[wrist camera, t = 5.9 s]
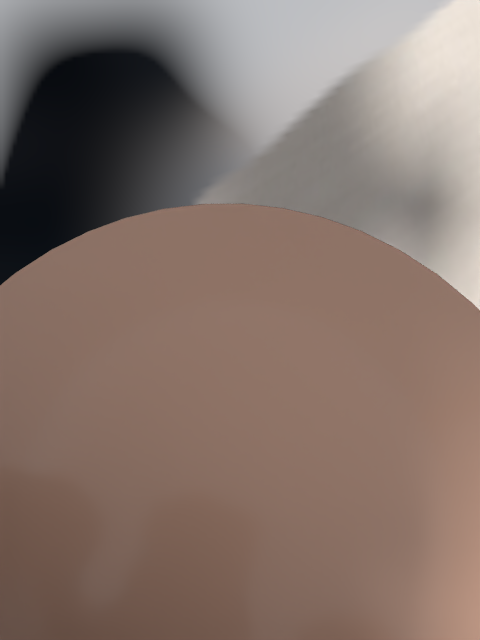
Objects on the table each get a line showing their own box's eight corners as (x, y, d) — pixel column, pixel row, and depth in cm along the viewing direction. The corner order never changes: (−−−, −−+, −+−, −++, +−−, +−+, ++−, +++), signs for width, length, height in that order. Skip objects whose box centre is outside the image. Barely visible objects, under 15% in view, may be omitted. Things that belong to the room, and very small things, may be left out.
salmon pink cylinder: (297, 621, 13) (443, 1477, 2) (112, 504, 15) (-332, 719, 4) (384, 417, 15) (709, 378, 4) (210, 329, 16) (101, 120, 5)
